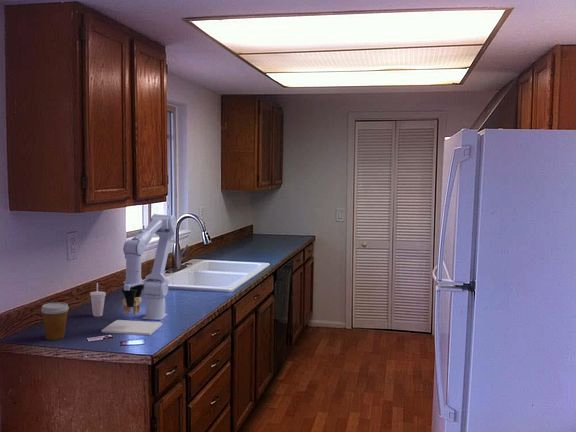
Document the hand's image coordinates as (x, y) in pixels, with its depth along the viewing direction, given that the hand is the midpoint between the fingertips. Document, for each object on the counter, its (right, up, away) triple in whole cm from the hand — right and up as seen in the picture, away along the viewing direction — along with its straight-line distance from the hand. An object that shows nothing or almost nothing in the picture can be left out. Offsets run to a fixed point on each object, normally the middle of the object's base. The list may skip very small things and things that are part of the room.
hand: (133, 304), depth 219 cm
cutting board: (0, -9, +1) cm, 9 cm away
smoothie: (-20, -8, +18) cm, 28 cm away
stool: (0, -3, 0) cm, 3 cm away
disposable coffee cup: (-25, -10, -14) cm, 30 cm away
